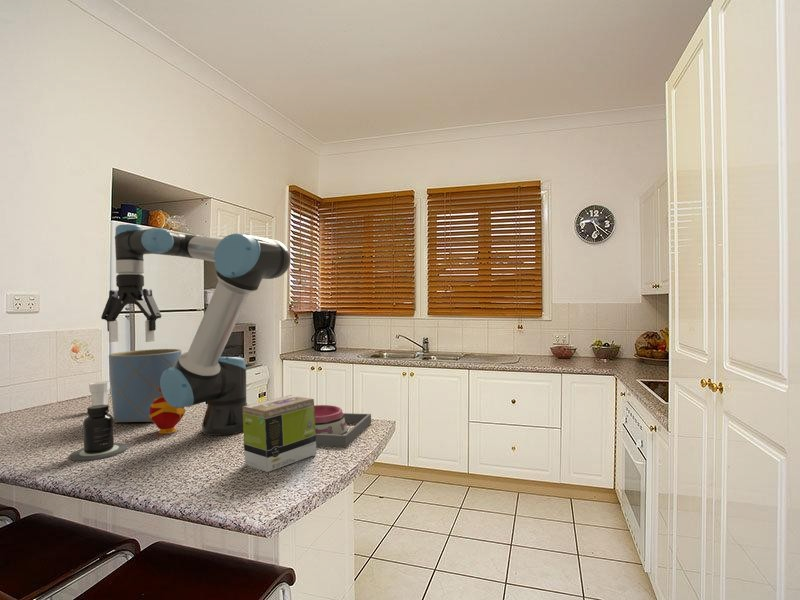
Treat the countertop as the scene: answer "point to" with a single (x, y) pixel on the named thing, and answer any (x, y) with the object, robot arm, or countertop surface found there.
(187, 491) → the countertop surface
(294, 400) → the tea box
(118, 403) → the planter
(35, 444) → the countertop surface
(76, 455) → the plate
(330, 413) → the dog bowl
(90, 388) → the cup
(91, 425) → the supplement bottle
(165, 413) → the potion bottle
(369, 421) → the bowl mat frame
